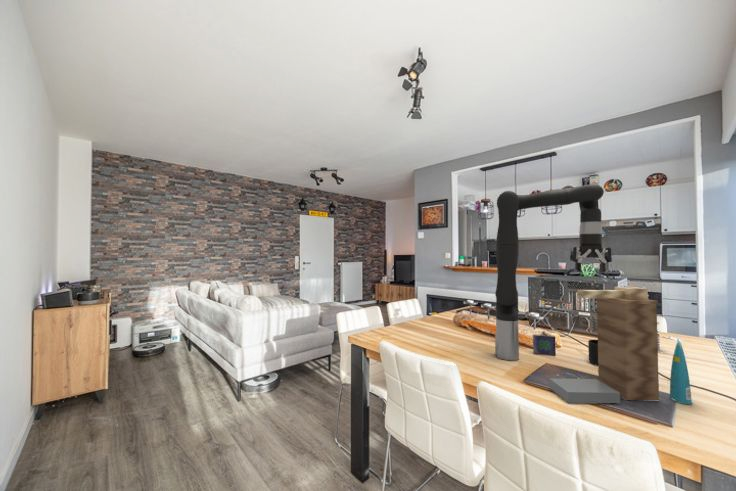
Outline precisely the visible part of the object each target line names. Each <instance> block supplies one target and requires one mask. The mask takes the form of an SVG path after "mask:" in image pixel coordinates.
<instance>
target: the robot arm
mask: <svg viewBox="0 0 736 491" xmlns="http://www.w3.org/2000/svg"><path fill="white" fill-rule="evenodd" d="M604 192H605V191H604V188H603V186H601V185H599V184H594V183H593V184H585V185H579V186H576V187H568V188H567V187H566V188H559V189H557V188H556V189H549V190H544V191H541V192H537V193H531V194H517V193H516V192H514V191H512V190H505V191H503V192H502V193H501V194H499V195H498V197H497V199H496V207H497V214H498V226H497V232H496V240H495V242H496V243H495V244H496V246H495V258H496V268H497V281H496V287H495V289H496V290H495V292H494V293H495V299H496V300H495V304H496V305H495V307H496V308H495V329H496V330H495V333H494V346H495V348H494V349H495V350H494V352H495V353H494V354H495V357H497V359H501V360H505V361H518V360H519V359H520V352H519V350H520V347H519V346H520V345H519V340H520V339H519V292H518V288H517V278H516V277H517V276H516V275H517V268H518V263H519V262H518V261H519V248H520V246H519V231H518V230H519V229H518V212H519V211H520V210H525V209H532V208H533V209H534V208H546V207H556V206H567V205H572V204H575V203H578V206H579V211H580V215H579V216H580V217H579V218H580V219H579V222H580V223H579V230H578V233H579V235H578V236H579V246H578V247H576V246H571V247H570V255H569V261H570V262H573V263H574V265H575V266H574V269H575V271H576V273H581V272H582V261H583V260H584V259H586V258H593V259H594V258H595V259H596V260H598V262H599V273H600V274H601V273H602V274H604V273H605V272H606V270H607V263H612V260H613V259H612V248H611V247H608V246H607V247H603V246H602V245H603V226H602V210H601V208H599V207H600V206H599V200H600V199H601V198H603V196H604ZM578 252H579V255H578V256H577V253H578ZM602 252H603V253H604V255H602Z"/></svg>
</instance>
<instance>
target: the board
mask: <svg viewBox="0 0 736 491" xmlns="http://www.w3.org/2000/svg"><path fill="white" fill-rule="evenodd" d="M549 390H551V392H553V393H554V394H555V395H557V396H558V397H560V398H561V399H562V400H563V401H564V402H566V403H567V404H580V405H581V404H585V405H586V404H587V405H590V404H592V405H593V404H594V405H597V403H618V404H617V405H620V404H621V397H620V393H619V392H618V391H616V390H614V389H612V388H611V387H609V386H607V385H605V384H604V383H602V382H600V381H599V379H597V378H595V379H594V378H593V379H592V378H549ZM619 403H620V404H619Z"/></svg>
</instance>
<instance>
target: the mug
mask: <svg viewBox="0 0 736 491" xmlns="http://www.w3.org/2000/svg"><path fill="white" fill-rule="evenodd" d="M587 341H588V342H587V344H588V345H587V347H588V348H587V349H588V362H589V363H590V364H592V365H594V366H597V367H598V339H589V340H587Z"/></svg>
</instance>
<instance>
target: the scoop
mask: <svg viewBox="0 0 736 491" xmlns="http://www.w3.org/2000/svg"><path fill="white" fill-rule="evenodd" d="M648 292H649V291H648V288H645V287H643V288H642V287H635V286H614V289H598V290H597V289H577V298H579V299H597V298H625V299H649V294H648Z"/></svg>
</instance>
